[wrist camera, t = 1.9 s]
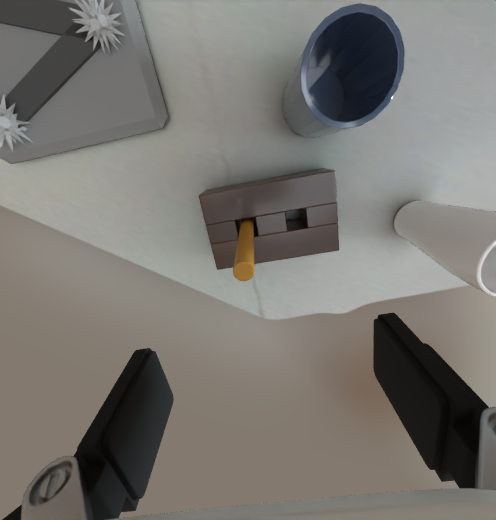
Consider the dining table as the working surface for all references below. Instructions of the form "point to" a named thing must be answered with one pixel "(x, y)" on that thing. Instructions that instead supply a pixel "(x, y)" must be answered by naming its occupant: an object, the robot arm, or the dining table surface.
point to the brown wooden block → (274, 216)
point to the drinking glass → (453, 239)
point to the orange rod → (245, 251)
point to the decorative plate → (73, 76)
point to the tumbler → (344, 72)
